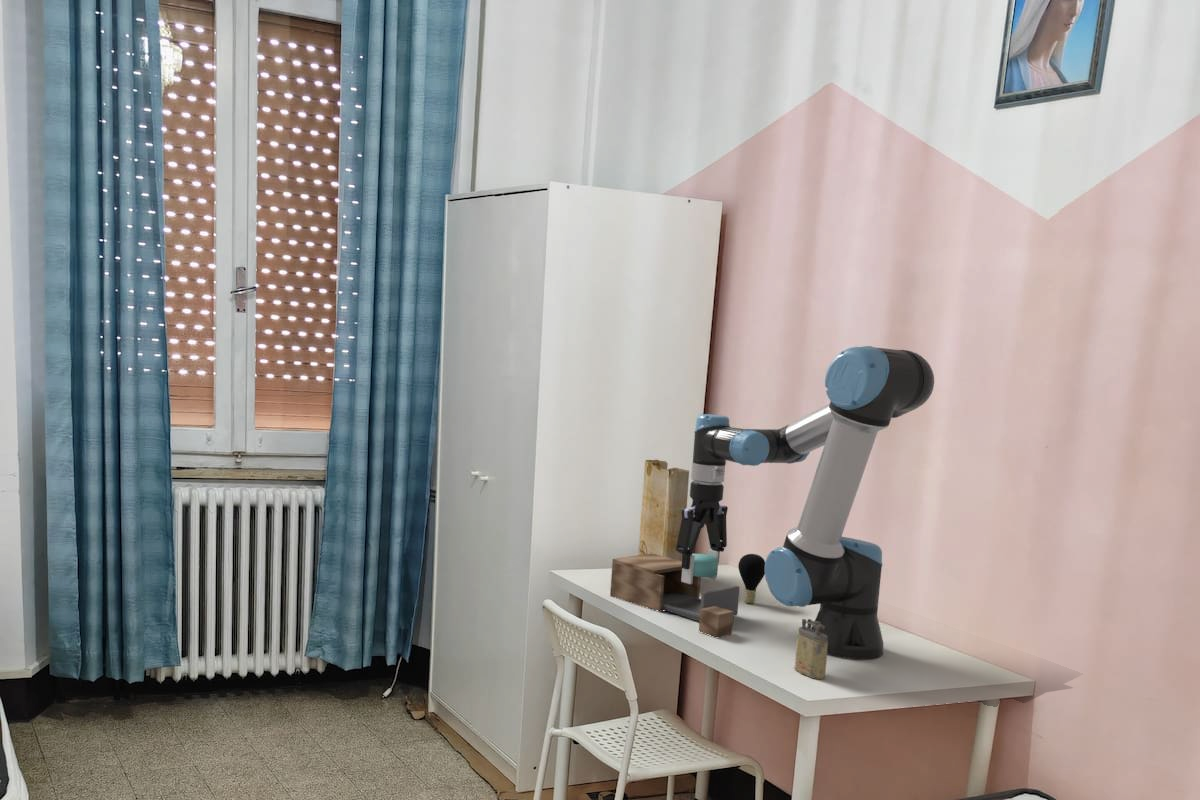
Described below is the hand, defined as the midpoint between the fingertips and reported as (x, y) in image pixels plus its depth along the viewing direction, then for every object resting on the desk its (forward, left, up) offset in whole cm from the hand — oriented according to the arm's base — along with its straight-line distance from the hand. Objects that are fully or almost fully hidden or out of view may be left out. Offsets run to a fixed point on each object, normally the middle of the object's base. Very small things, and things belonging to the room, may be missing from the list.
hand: (699, 580), depth 224 cm
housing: (+13, 0, -8) cm, 15 cm away
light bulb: (-1, -19, -8) cm, 20 cm away
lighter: (-40, +14, -8) cm, 43 cm away
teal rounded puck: (0, 0, +2) cm, 2 cm away
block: (-13, +9, -8) cm, 17 cm away
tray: (+2, 0, -7) cm, 7 cm away
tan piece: (+29, -19, -8) cm, 36 cm away
